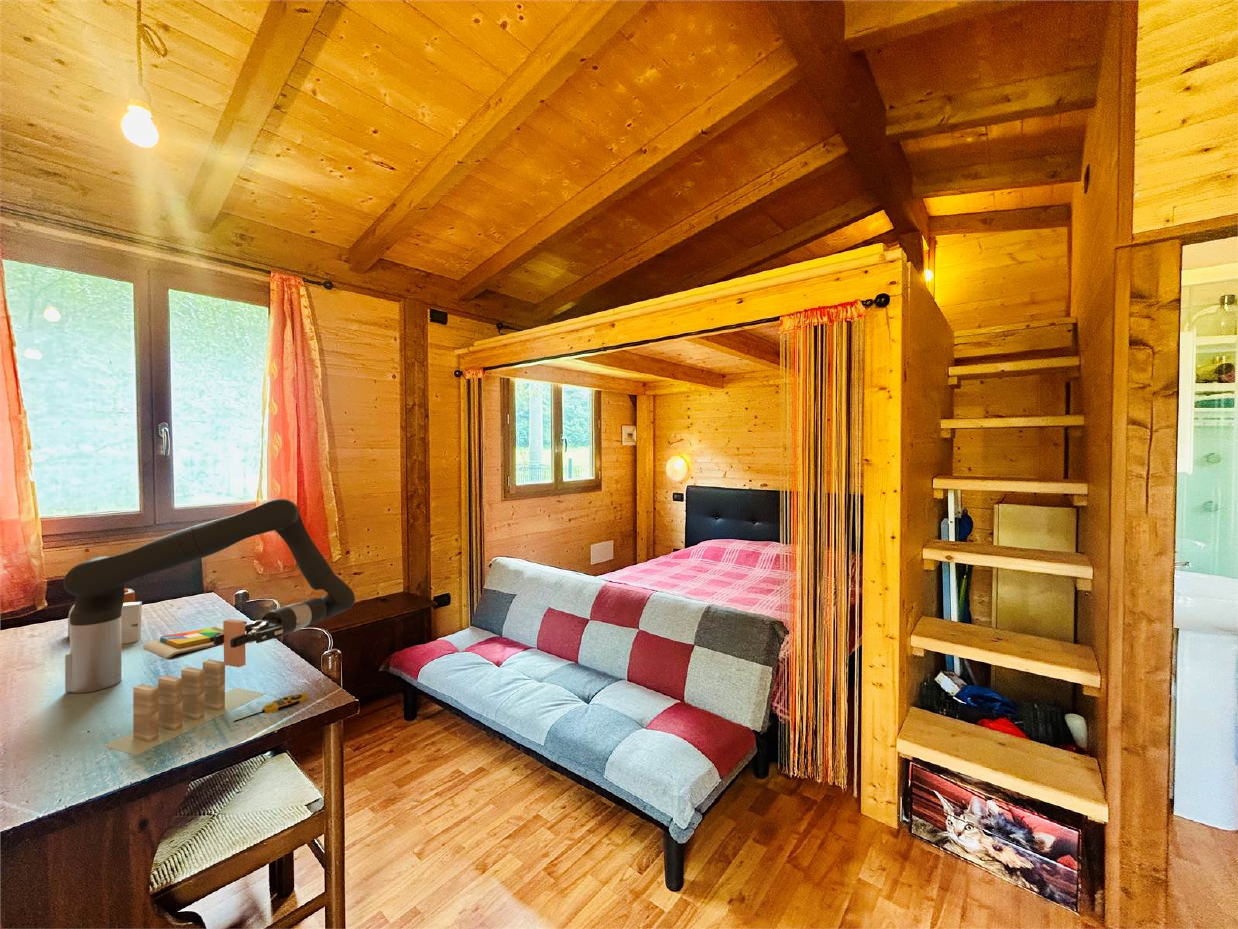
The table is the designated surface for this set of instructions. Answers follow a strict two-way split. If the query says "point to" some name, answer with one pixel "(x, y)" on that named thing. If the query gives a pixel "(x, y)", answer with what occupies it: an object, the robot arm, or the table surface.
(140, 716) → the domino
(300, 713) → the table surface
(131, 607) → the skincare box
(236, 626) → the domino
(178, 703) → the domino
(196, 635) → the wooden puzzle
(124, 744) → the mat
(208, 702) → the domino
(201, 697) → the domino
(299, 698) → the yellow screwdriver
